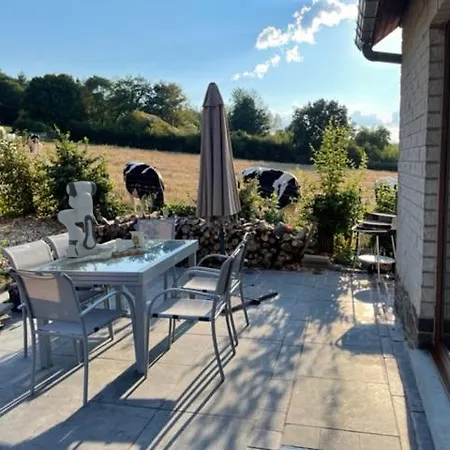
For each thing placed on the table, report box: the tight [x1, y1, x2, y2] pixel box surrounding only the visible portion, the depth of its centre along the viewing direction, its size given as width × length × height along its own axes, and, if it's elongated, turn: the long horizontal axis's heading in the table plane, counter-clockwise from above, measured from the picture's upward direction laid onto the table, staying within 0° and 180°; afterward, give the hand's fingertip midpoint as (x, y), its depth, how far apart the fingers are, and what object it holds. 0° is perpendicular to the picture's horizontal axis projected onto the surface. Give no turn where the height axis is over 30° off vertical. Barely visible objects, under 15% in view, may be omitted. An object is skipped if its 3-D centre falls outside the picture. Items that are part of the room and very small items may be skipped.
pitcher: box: [129, 230, 149, 248], centre depth 423 cm, size 11×18×14 cm, turn 79°
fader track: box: [110, 247, 145, 259], centre depth 383 cm, size 25×10×4 cm, turn 124°
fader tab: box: [115, 238, 124, 253], centre depth 379 cm, size 4×6×12 cm, turn 34°
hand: (113, 247), depth 376 cm, fingers closed
